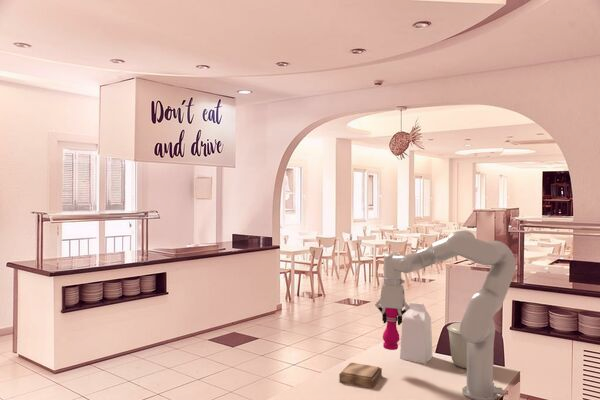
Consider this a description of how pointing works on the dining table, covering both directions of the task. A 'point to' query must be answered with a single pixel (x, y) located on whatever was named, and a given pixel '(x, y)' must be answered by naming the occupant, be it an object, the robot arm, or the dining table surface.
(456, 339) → the canister
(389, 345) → the pepper mill
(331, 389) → the dining table surface
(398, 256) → the robot arm
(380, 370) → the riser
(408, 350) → the milk
